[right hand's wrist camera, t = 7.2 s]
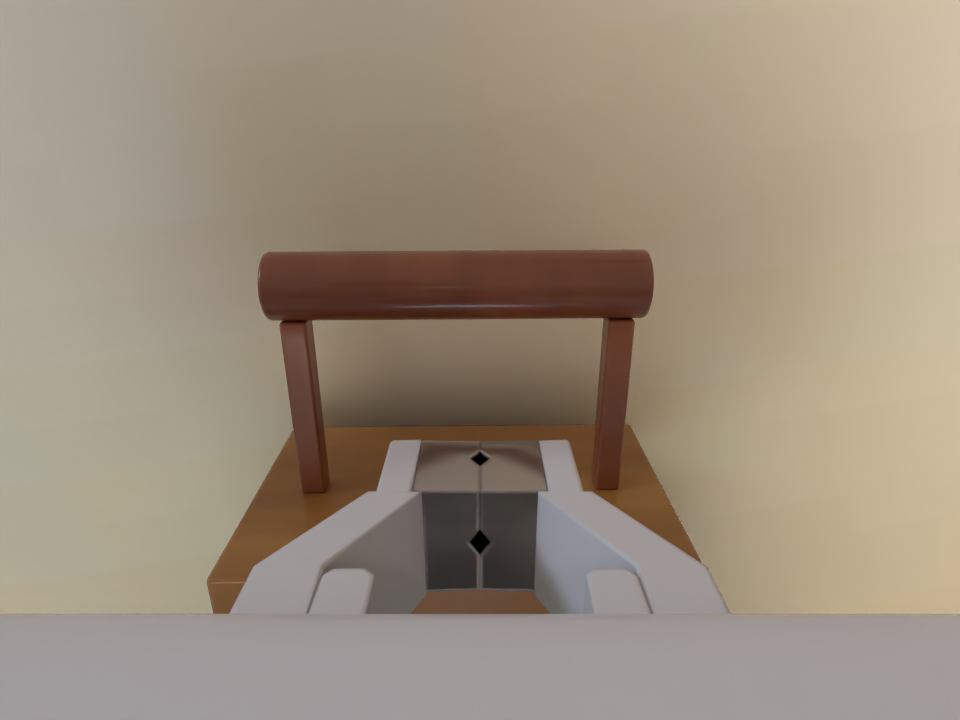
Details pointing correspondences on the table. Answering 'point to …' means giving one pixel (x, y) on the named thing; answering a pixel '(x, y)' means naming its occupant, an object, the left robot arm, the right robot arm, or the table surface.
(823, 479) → the table surface
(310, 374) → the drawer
